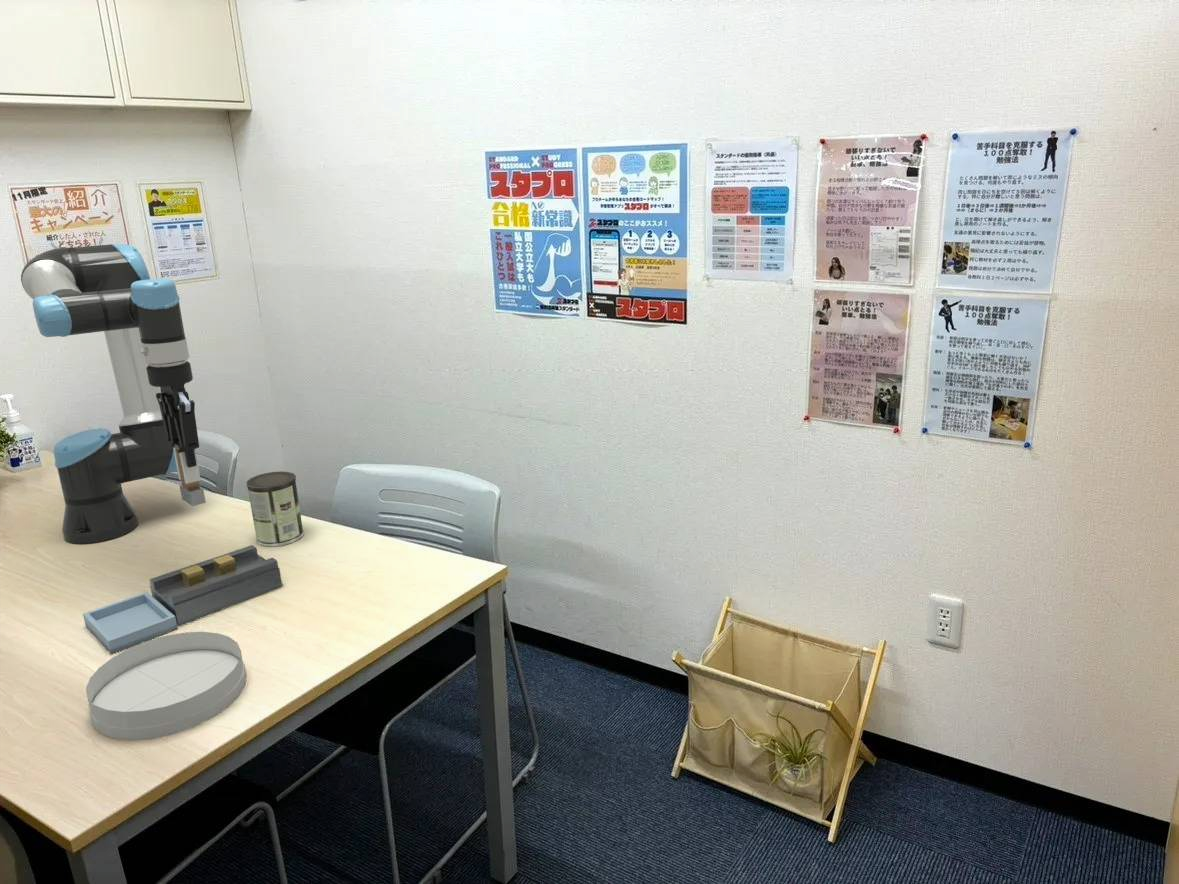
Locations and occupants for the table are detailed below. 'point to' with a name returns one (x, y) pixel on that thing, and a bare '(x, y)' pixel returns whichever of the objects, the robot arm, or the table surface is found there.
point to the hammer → (189, 486)
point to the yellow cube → (224, 565)
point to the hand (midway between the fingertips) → (189, 479)
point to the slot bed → (217, 585)
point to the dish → (165, 685)
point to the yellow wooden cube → (193, 576)
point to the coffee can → (275, 508)
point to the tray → (129, 622)
